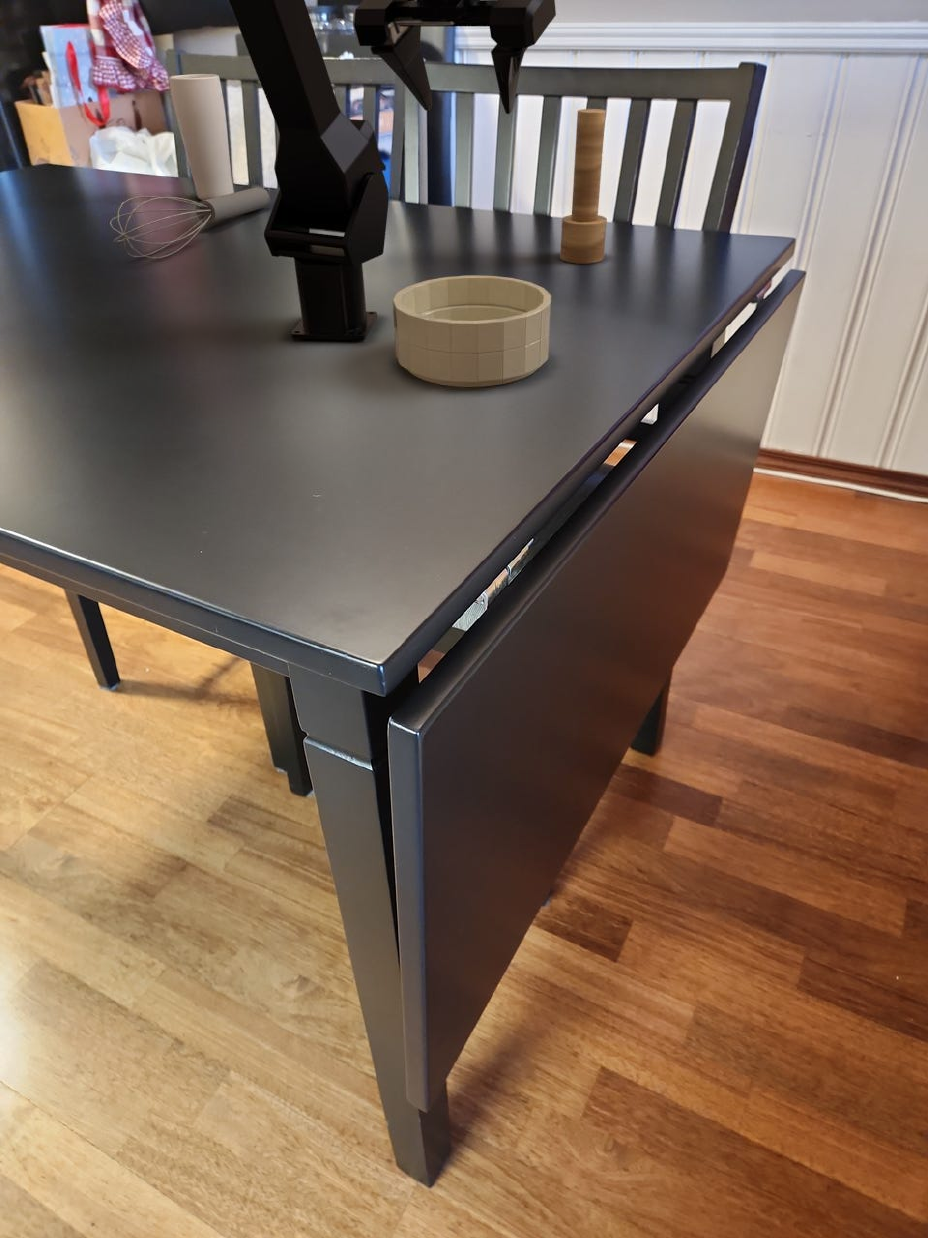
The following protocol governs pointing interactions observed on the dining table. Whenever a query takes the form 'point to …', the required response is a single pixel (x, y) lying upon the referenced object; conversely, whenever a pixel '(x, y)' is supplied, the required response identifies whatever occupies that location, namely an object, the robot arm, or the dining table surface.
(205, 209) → the kitchen whisk
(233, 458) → the dining table surface
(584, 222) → the pestle
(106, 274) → the dining table surface
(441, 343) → the bowl
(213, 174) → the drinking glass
